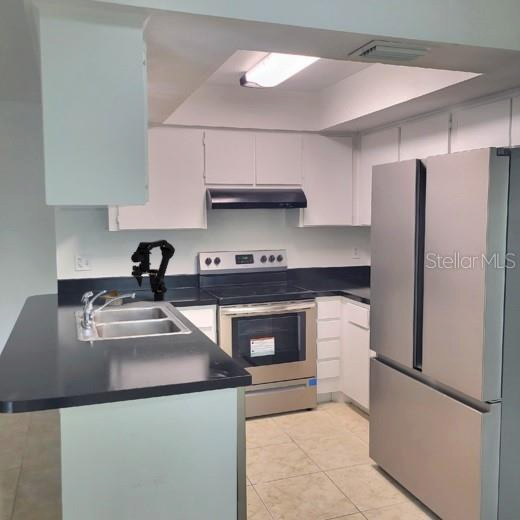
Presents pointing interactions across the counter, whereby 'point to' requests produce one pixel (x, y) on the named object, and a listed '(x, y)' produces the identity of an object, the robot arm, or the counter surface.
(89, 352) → the counter surface
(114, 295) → the lid
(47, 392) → the counter surface
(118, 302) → the bowl
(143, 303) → the mat
